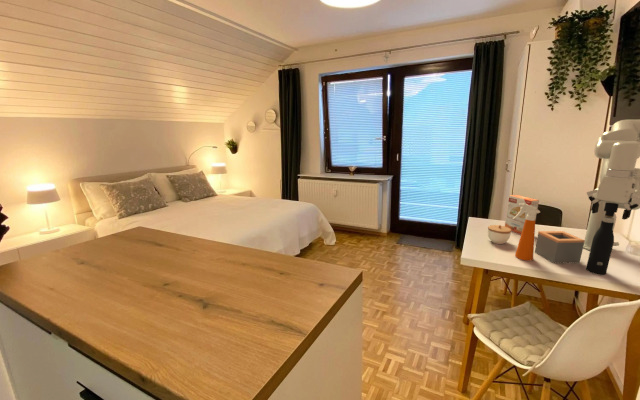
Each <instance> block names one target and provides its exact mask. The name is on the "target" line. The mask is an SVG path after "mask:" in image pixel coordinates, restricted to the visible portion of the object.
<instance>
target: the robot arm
mask: <svg viewBox="0 0 640 400" xmlns="http://www.w3.org/2000/svg"><path fill="white" fill-rule="evenodd" d="M594 156H595V157H596V158H598V159H601V160H602V164H601V170H600V174H599V182H600V183H599V185H598V187H597V188H595V189H594V190H590V191H587V192H586V195H587V197H588V200H590V202H591V209H590V213H589V219H588V223H587V228H586V232H585V238H584V240H585V242H584V246H583V250H587V251H590V249H591V245H592V241H593V237H594V235H595V233H596V232H597V230H598V229H599V228H600V225H601V221H603V217H604V216H605V213H606V211H604V208H605V203H616V204H619V205H618V209H621V210H623V213H622V217H621V219H622V220H624V221H625V220H628V218H630V217H631V213H632V211H636V210H639V209H640V168H639V167H636V164H637V161H638V159H639V158H640V119H621V120H618V121H616V122H615V123H614V124H612V126H611V128H610V130H607V131H604V132H603V133H602V134H601V136H599V137H598V138H597V140H596V142H595V147H594ZM612 218H614V220H613V221H614V222H613V223H614V225H613V231H614V230H615V226H616V222H617V214H616V213H614V217H612ZM619 245H620V243H619V241H614V244H613V247H619ZM613 252H614V249H613V248H612V252H611V254H612V253H613Z"/></svg>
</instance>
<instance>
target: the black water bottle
mask: <svg viewBox="0 0 640 400" xmlns="http://www.w3.org/2000/svg"><path fill="white" fill-rule="evenodd" d="M618 205H619V204H616V203H605V208H604V211H606V213H605V216H604V217H603V221H601V225H600V228H599V229H598V230H597V232H596V233H595V235H594V237H593V241H592V245H591V249H590V250H589V255H588V260H587V263H586V268H585V270H586V271H587V272H589V273H590V274H591V273H592V274H594V275H598V276H599V275H600V276H606V274H607V272H608V266H609V264H610V263H609V262H610V260H611V254H612V253H613V252H612V249H613V248H614V246H613V244H614V242H615V236H614V230H613V225H614V223H613V222H614V221H613V220H614V218H612V217H614V213H615V214H616V213H618V209H619V208H618ZM611 252H612V253H611Z"/></svg>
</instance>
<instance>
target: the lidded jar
mask: <svg viewBox="0 0 640 400" xmlns="http://www.w3.org/2000/svg"><path fill="white" fill-rule="evenodd" d="M511 234H512V231H511V229H510V228H508V227H505V225H501V224H491V225H488V227H487V237H488V239H489V240H490V241H491V243H493V244H497V245H504V244H505V243H507V242H508V241H509V239H510V238H511Z"/></svg>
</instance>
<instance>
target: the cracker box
mask: <svg viewBox="0 0 640 400" xmlns="http://www.w3.org/2000/svg"><path fill="white" fill-rule="evenodd" d="M508 197H509V198H508V204H507V207H506V208H507V209H506V215H505V216H506V217H505V220H504V226H505V227H508V228H510V229H511V232H514V233H516V234H519V235H521V234H522V230H523V227H524V223H525V220H526V215H527V214H528V212H525V213H524V214H522V215H521V216H519V217H518V218H515V219H513V218H514V217H515V216H516V215H517V214H518V213H519V212H520V210H521V209H520V208H521V206H519V203H522V204H523V203H524V204H527V205H530V206H532V207H534V208H536V209H538V210H539V208H538V207H539V203H540V200H539V199H535V198H531V197H527V196H523V195H519V194H510V195H509V196H508ZM524 211H526V210H524ZM537 214H538V213H536V214H535V216H536V217H537ZM535 221H537V218H536V219H535Z"/></svg>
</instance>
